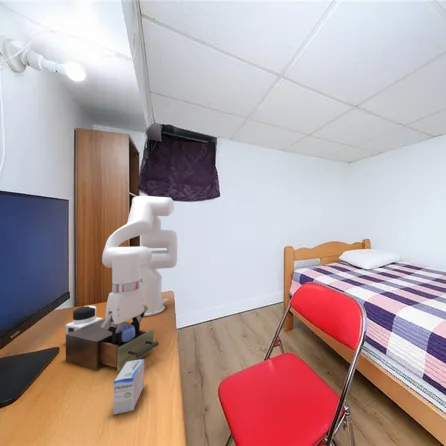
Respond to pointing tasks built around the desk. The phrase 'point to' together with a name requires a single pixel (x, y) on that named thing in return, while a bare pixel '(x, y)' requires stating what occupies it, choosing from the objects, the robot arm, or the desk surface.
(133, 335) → the decorative dice
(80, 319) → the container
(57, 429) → the desk surface
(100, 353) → the drawer
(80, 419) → the desk surface
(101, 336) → the cabinet
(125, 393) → the medicine box
